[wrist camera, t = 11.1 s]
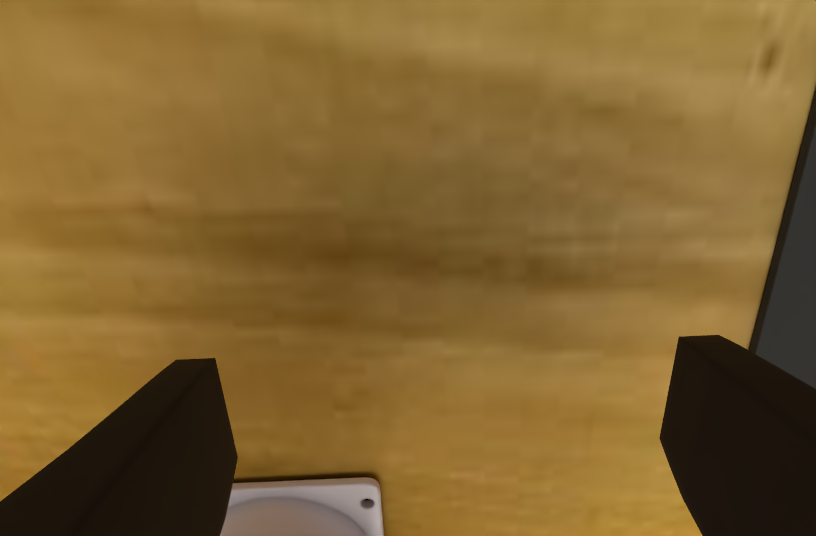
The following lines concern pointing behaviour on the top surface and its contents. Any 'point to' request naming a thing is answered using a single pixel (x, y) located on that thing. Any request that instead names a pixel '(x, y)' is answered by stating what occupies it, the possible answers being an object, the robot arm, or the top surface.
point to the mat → (793, 276)
